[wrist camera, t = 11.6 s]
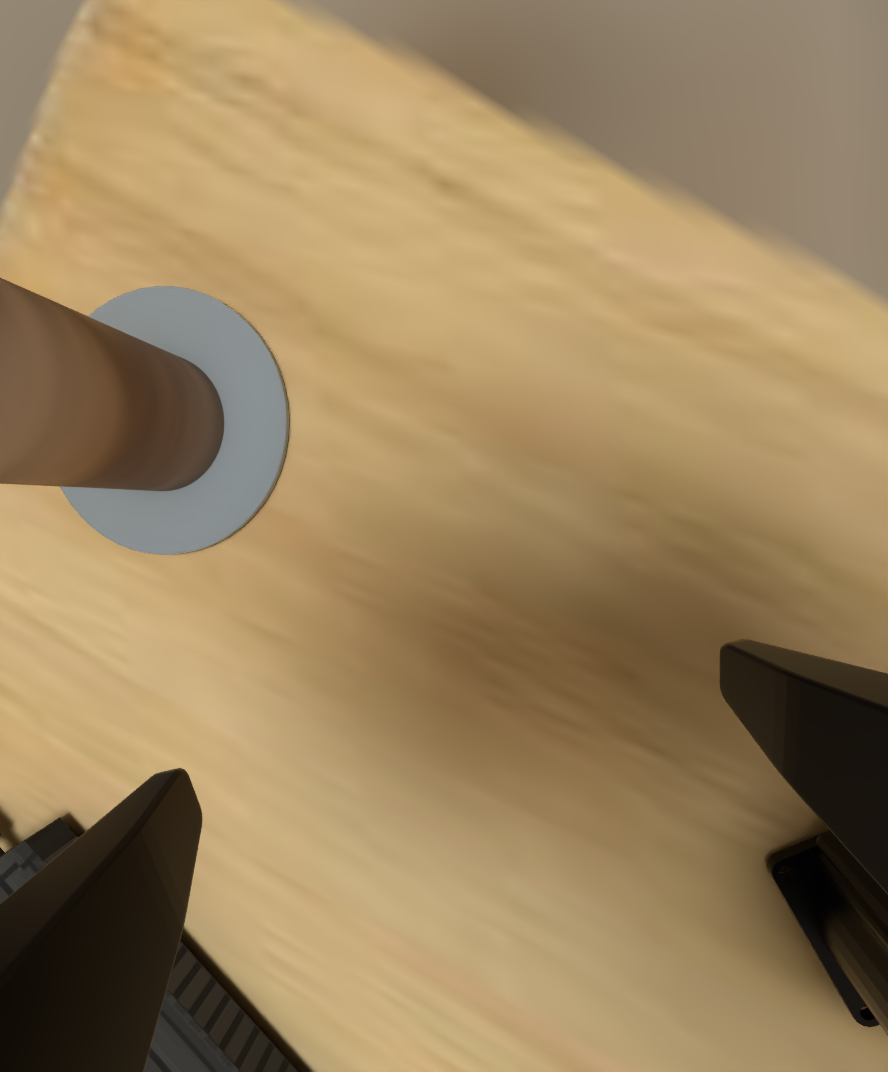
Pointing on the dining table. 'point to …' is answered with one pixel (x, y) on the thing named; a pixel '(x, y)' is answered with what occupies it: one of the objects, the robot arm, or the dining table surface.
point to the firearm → (169, 990)
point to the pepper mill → (97, 403)
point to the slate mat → (249, 426)
